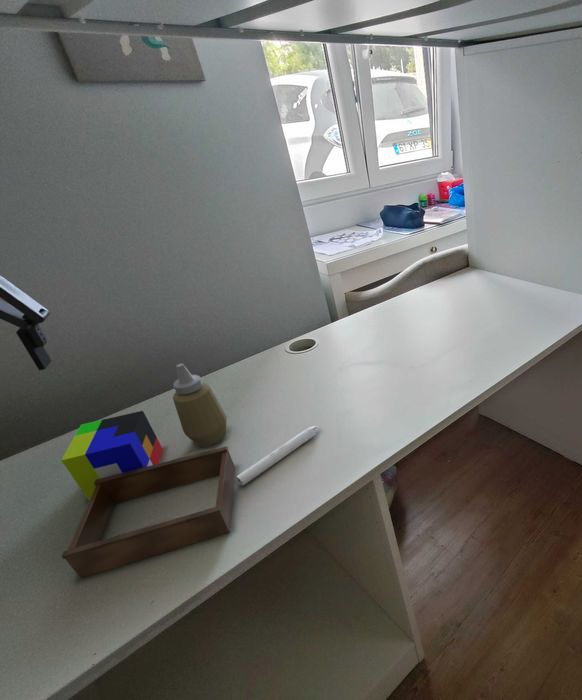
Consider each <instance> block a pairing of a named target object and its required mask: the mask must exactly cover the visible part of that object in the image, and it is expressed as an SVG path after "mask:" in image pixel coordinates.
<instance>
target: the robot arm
mask: <svg viewBox="0 0 582 700" xmlns="http://www.w3.org/2000/svg"><path fill="white" fill-rule="evenodd" d="M1 299H2V300H1ZM50 315H51V312H50V310H48V309H47V308H45V307H44V305H42V304H40V303H39V302H38V301H37V300H35V299H34V298H33V297H31V296H30V295H28V294H27V293H25V292H24V291H22V290H21V289H20V288H18V287H17V286H16V285H14V284H13V283H12V282H10V281H9V280H8V279H6V278H5V277H3V276H2V275H1V274H0V320H2V321H4V322H7V323H8V324H10V325H13V326H16V327H18V330H17V331H16V332H15V333H16V335H17V337H18V338H19V340H20V342H21V343H22V345H23V346H24V348H25V350H26V352H27V353H28V355H29V356H30V358H31V359H32V361H33V363H34V364H35V366H36V368H37V370H38V371H43V370H46V369H47V368H48V367H49V365H50V364H51V362H52V360H53V359H51V357H50V355H49V353H48V352H47V350H46V347H45V345H46V344H47V343H48V339H47V337H46V335H45V333H44V331H43V330H42V327H41V326H40V324H42V323H44V322H45V320H47V318H49V316H50Z"/></svg>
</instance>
